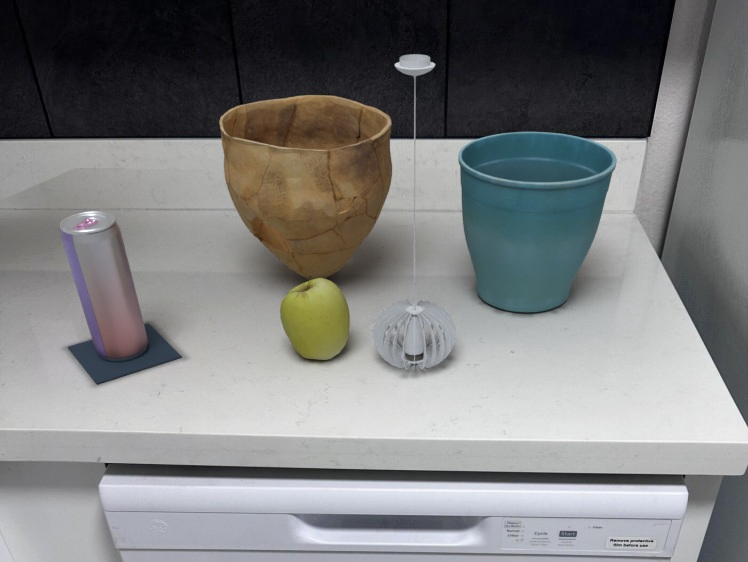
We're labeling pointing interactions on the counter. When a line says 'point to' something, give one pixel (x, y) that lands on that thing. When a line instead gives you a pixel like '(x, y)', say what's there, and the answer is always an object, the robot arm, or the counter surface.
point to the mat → (110, 370)
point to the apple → (316, 319)
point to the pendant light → (422, 310)
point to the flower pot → (531, 213)
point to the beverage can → (104, 284)
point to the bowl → (308, 176)
